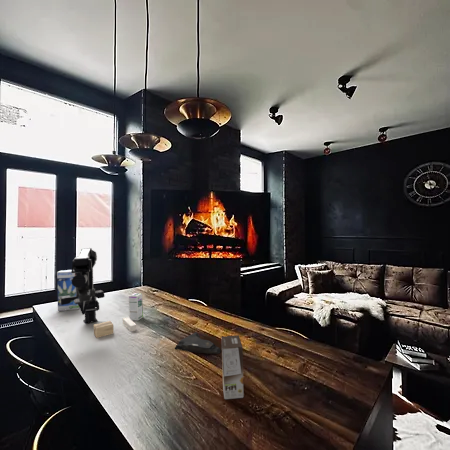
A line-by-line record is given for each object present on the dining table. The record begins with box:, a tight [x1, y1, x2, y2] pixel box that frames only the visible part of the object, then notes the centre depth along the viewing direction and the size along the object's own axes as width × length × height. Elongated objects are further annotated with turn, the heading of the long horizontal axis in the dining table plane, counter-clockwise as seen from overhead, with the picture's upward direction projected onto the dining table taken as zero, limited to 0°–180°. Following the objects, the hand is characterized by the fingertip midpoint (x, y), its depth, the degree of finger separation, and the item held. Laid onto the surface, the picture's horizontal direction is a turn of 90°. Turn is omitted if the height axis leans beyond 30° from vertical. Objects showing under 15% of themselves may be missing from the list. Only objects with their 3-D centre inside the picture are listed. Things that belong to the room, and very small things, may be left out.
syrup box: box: [128, 292, 144, 321], centre depth 153 cm, size 6×6×14 cm
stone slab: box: [174, 331, 222, 355], centre depth 116 cm, size 22×16×5 cm
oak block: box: [93, 320, 114, 339], centre depth 133 cm, size 6×8×5 cm
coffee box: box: [221, 335, 245, 400], centre depth 85 cm, size 9×6×16 cm
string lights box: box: [56, 269, 80, 311], centre depth 176 cm, size 13×8×26 cm, turn 104°
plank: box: [122, 316, 137, 333], centre depth 141 cm, size 14×3×3 cm, turn 37°
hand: (83, 314), depth 127 cm, fingers closed
